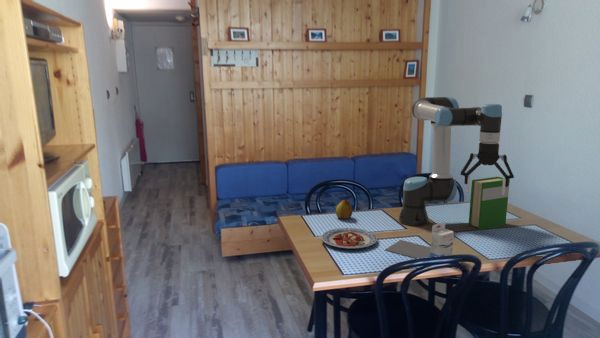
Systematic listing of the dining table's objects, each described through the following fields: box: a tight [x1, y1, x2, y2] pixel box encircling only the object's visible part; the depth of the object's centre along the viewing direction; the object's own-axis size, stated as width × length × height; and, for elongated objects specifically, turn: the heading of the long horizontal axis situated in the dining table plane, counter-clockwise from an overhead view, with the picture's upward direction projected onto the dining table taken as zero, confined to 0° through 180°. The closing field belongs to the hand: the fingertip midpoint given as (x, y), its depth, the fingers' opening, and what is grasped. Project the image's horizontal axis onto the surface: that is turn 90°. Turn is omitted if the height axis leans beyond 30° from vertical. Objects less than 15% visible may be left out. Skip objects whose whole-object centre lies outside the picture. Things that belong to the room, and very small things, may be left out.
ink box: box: [430, 221, 455, 257], centre depth 183 cm, size 8×5×15 cm, turn 123°
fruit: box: [335, 197, 353, 220], centre depth 237 cm, size 9×9×12 cm
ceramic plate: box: [320, 227, 378, 249], centre depth 204 cm, size 26×26×3 cm
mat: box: [384, 239, 431, 260], centre depth 193 cm, size 19×15×1 cm
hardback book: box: [468, 176, 510, 231], centre depth 223 cm, size 18×7×24 cm, turn 114°
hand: (485, 193), depth 182 cm, fingers open, 13 cm apart
